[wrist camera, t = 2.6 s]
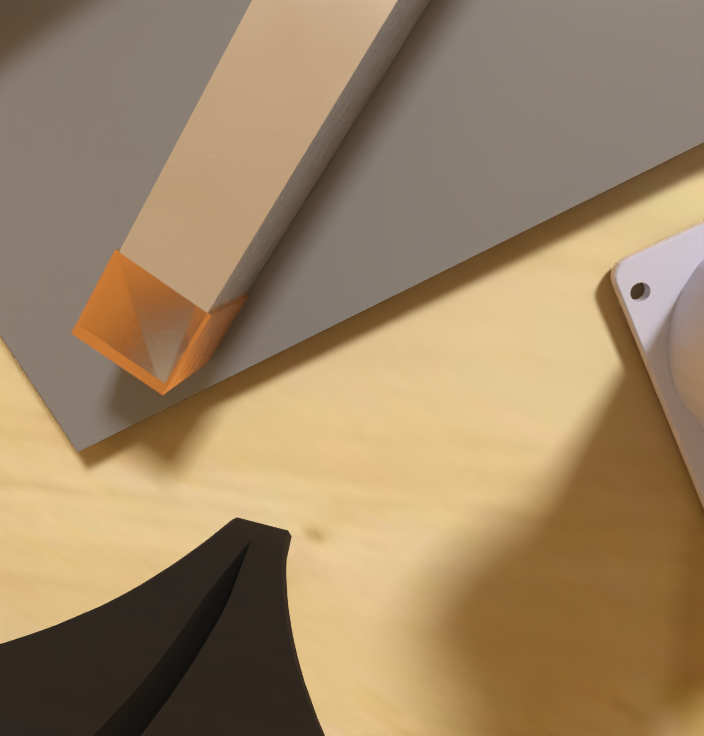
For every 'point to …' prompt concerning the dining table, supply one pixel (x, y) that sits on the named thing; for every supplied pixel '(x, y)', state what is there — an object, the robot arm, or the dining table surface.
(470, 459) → the dining table surface
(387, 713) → the dining table surface
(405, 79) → the cutting board
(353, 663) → the dining table surface
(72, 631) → the robot arm
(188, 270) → the bar
